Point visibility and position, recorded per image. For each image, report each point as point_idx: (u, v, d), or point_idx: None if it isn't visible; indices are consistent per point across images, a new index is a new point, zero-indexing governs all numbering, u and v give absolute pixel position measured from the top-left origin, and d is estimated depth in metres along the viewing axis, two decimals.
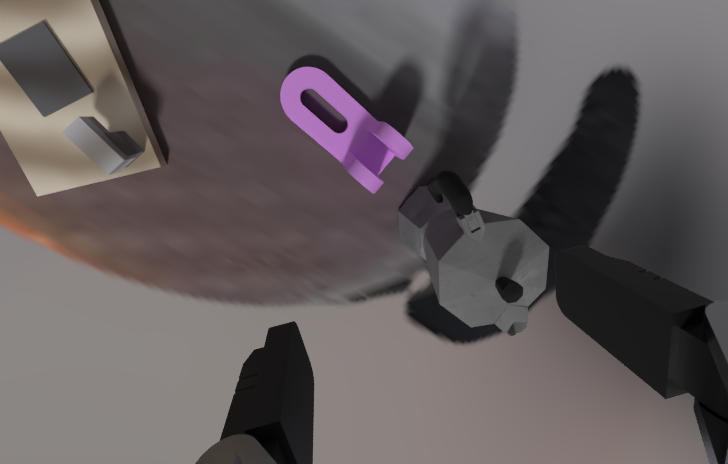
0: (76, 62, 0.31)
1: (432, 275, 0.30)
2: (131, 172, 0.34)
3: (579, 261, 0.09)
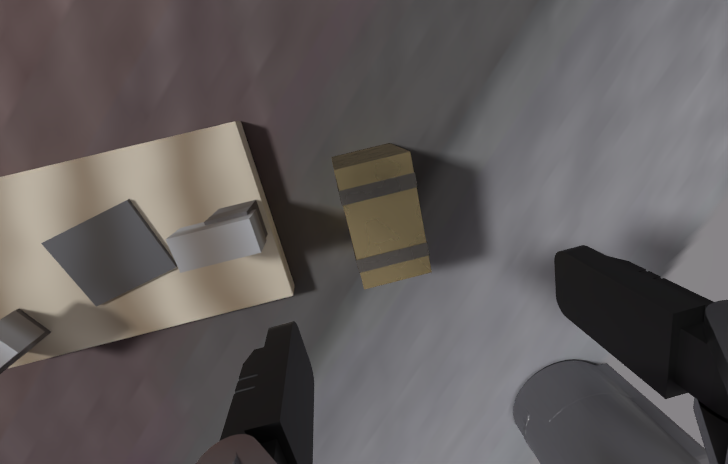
0: (134, 290, 0.23)
1: None
2: None
3: (579, 261, 0.09)
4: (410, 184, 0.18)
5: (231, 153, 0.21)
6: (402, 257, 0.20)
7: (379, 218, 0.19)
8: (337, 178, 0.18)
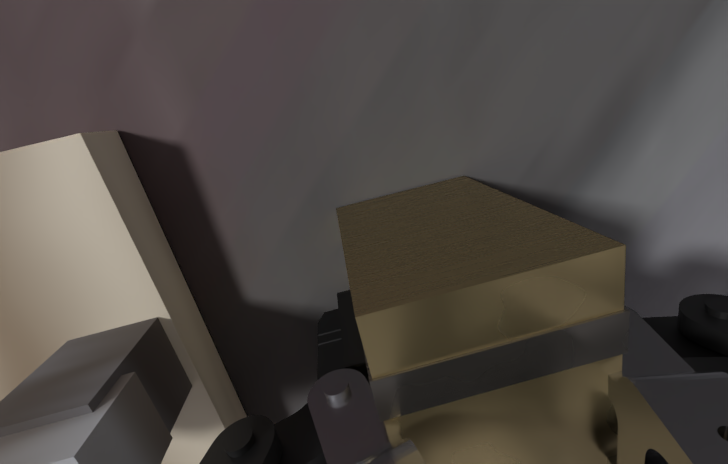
0: None
1: None
2: None
3: None
4: (607, 346, 0.06)
5: (81, 214, 0.08)
6: None
7: (494, 441, 0.06)
8: (367, 343, 0.05)
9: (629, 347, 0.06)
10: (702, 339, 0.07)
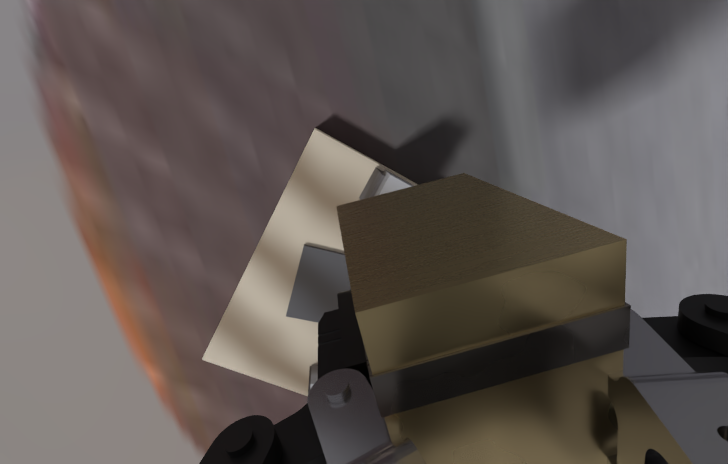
0: None
1: None
2: (307, 394, 0.30)
3: None
4: (608, 341, 0.06)
5: (332, 152, 0.24)
6: None
7: (495, 436, 0.06)
8: (367, 338, 0.05)
9: (629, 347, 0.06)
10: (702, 339, 0.07)
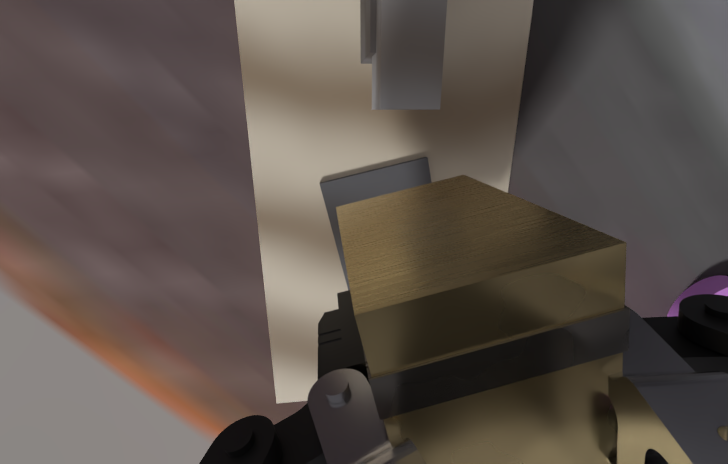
0: None
1: None
2: None
3: None
4: (607, 344, 0.06)
5: (281, 8, 0.14)
6: None
7: (494, 439, 0.06)
8: (366, 340, 0.05)
9: (629, 347, 0.06)
10: (701, 338, 0.07)
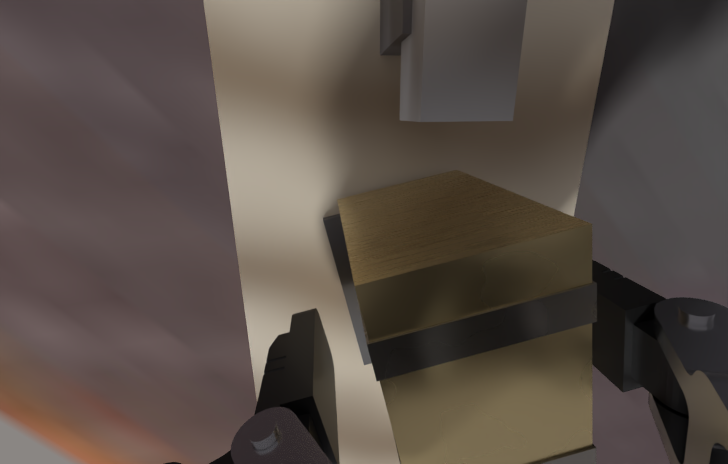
0: None
1: None
2: None
3: None
4: (578, 315, 0.06)
5: None
6: None
7: (478, 402, 0.07)
8: (365, 309, 0.06)
9: None
10: None
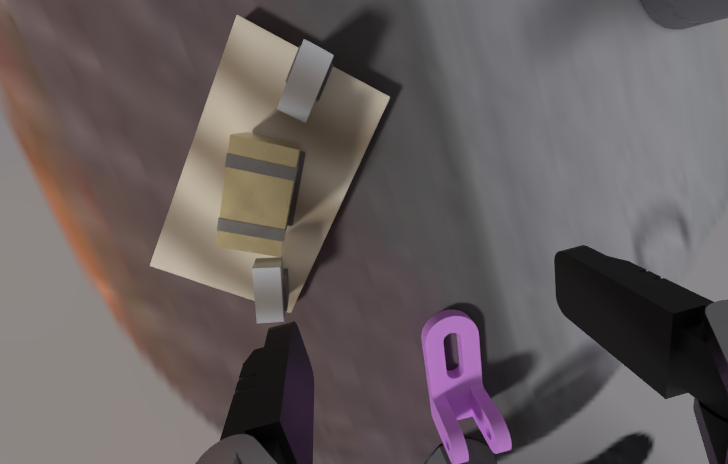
0: (301, 195, 0.28)
1: None
2: None
3: (579, 261, 0.09)
4: (289, 176, 0.21)
5: (256, 39, 0.25)
6: (260, 233, 0.22)
7: (252, 191, 0.21)
8: (230, 142, 0.20)
9: None
10: None
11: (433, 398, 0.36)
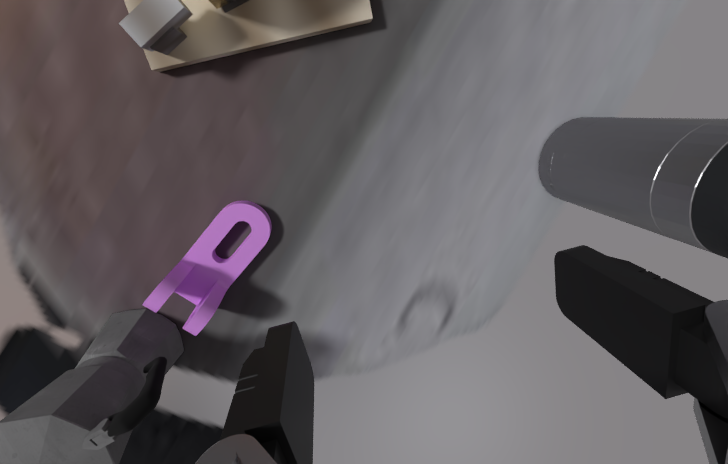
0: (253, 2, 0.30)
1: (44, 393, 0.28)
2: None
3: (579, 261, 0.09)
4: None
5: None
6: None
7: None
8: None
9: None
10: None
11: (183, 258, 0.36)
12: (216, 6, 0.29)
